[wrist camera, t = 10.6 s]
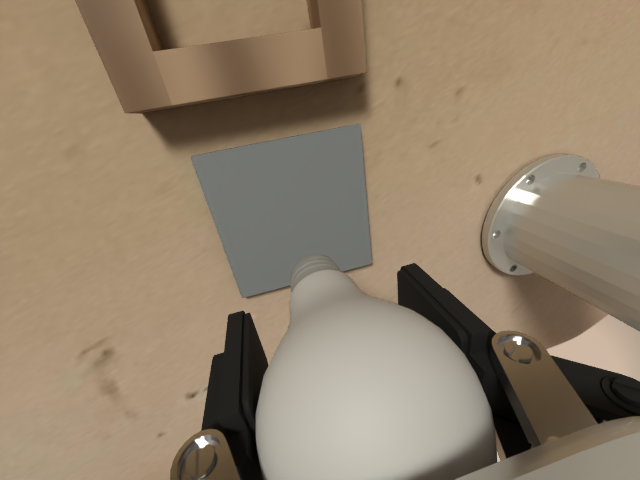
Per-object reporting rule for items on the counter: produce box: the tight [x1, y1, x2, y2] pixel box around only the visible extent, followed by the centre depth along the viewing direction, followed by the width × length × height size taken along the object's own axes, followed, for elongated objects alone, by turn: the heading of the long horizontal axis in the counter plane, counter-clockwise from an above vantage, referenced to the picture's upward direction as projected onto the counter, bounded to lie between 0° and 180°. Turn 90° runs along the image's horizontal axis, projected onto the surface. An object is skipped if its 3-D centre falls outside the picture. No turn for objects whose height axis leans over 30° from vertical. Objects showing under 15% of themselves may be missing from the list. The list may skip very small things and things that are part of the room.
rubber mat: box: [191, 124, 372, 298], centre depth 22 cm, size 12×12×1 cm
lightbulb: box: [256, 254, 497, 480], centre depth 10 cm, size 6×6×11 cm
